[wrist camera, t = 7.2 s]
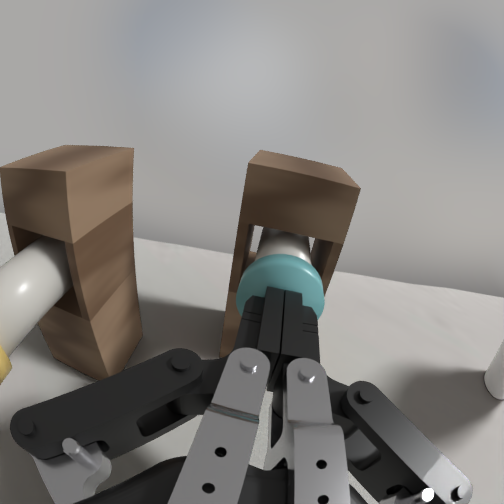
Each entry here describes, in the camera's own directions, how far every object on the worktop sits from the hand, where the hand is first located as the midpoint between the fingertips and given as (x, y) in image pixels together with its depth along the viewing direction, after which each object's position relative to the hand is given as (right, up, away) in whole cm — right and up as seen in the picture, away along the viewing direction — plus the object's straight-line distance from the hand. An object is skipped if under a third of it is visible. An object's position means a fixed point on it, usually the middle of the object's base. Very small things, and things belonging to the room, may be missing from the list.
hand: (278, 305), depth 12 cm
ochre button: (-12, -1, -2) cm, 12 cm away
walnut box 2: (-1, -4, +9) cm, 10 cm away
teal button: (0, 0, +4) cm, 4 cm away
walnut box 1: (-12, -4, +5) cm, 14 cm away
